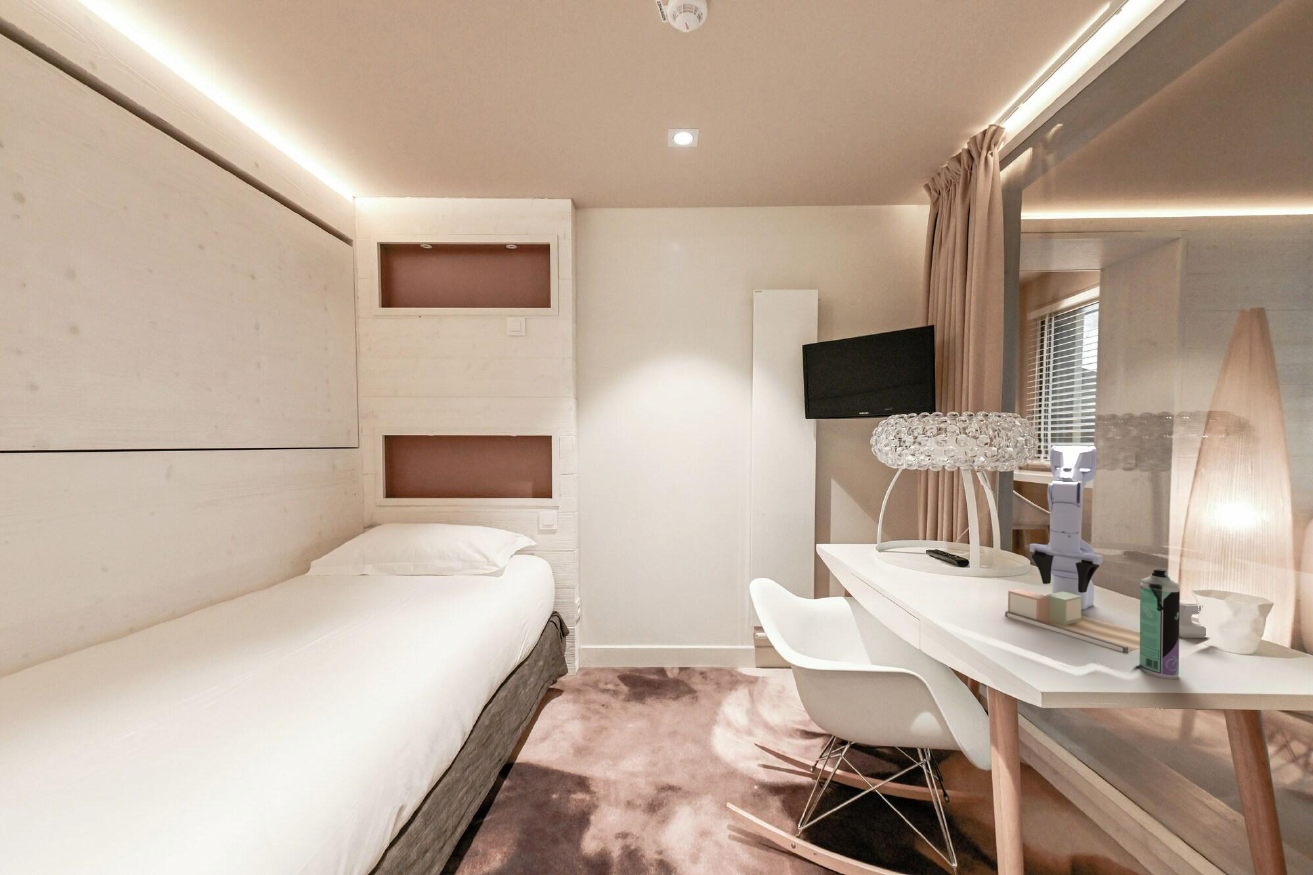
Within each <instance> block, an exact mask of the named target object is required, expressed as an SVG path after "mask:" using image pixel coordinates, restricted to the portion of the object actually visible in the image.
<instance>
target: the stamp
mask: <svg viewBox="0 0 1313 875" xmlns="http://www.w3.org/2000/svg"><path fill="white" fill-rule="evenodd" d="M1201 606H1202V608H1204V605H1202V604H1199V608H1198V603H1195V602H1192V601H1188V600H1185V599H1180V612H1179V638H1182V639H1183V638H1185V639H1196V638H1197V639H1206V638H1205V636H1206V628H1205V627H1204V626H1201V624H1202V623H1201V622H1197V621H1194V620H1193V619H1192V616H1193V615H1199V614H1200V612H1202V611H1201ZM1198 609H1199V610H1198ZM1198 611H1199V612H1198Z"/></svg>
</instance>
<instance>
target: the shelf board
mask: <svg viewBox="0 0 1313 875" xmlns="http://www.w3.org/2000/svg"><path fill="white" fill-rule="evenodd" d="M1047 623H1050V624H1053V625H1057V626H1060V627H1063V628H1067V629H1070V630H1073V631H1077V632H1080V633H1083V634H1087V635H1090V636H1094V637H1097V638H1100V639H1104V640H1107V641H1110V642H1114V643H1117V644H1120V645H1124V646H1127V647H1128V652H1124V653H1125V654H1126V653H1129V652H1132V651H1135V650H1138V649H1140V631H1138V630H1135V629H1131V628H1128V627H1124V626H1121V625H1116V624H1112V623H1108V622H1104V621H1103V620H1102V621H1101V620H1097V619H1094V618H1091V617H1087V616H1083V615H1082V618H1081V621H1079V622H1075V623H1072V624H1068V625H1062V624H1059V623H1055V622H1052V621H1049V622H1047Z"/></svg>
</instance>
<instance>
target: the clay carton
mask: <svg viewBox="0 0 1313 875" xmlns="http://www.w3.org/2000/svg"><path fill="white" fill-rule="evenodd" d="M1007 594H1008V595H1007V598H1008V599H1007V601H1008V602H1007V605H1008V606H1007V611H1010V612H1013V613H1017V614H1020V615H1023V616H1027V617H1030V618H1033V619H1037V620H1040V621H1043V622H1049V597H1048V596H1046V595H1044V594H1040V593H1037V592H1032V591H1028V590H1026V589H1025V590H1023V589H1021V588H1016V589H1011V590H1008V593H1007Z"/></svg>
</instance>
